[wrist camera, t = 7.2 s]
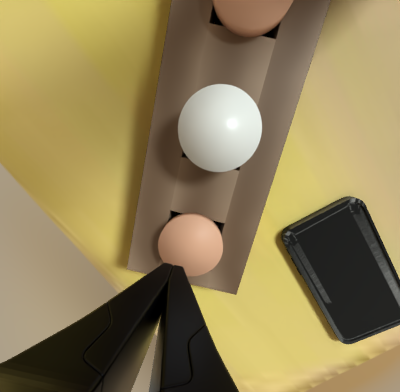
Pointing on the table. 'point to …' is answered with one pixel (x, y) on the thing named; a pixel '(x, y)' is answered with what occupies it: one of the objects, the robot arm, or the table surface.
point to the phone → (346, 269)
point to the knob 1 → (191, 243)
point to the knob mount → (269, 142)
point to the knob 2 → (250, 15)
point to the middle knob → (219, 128)
